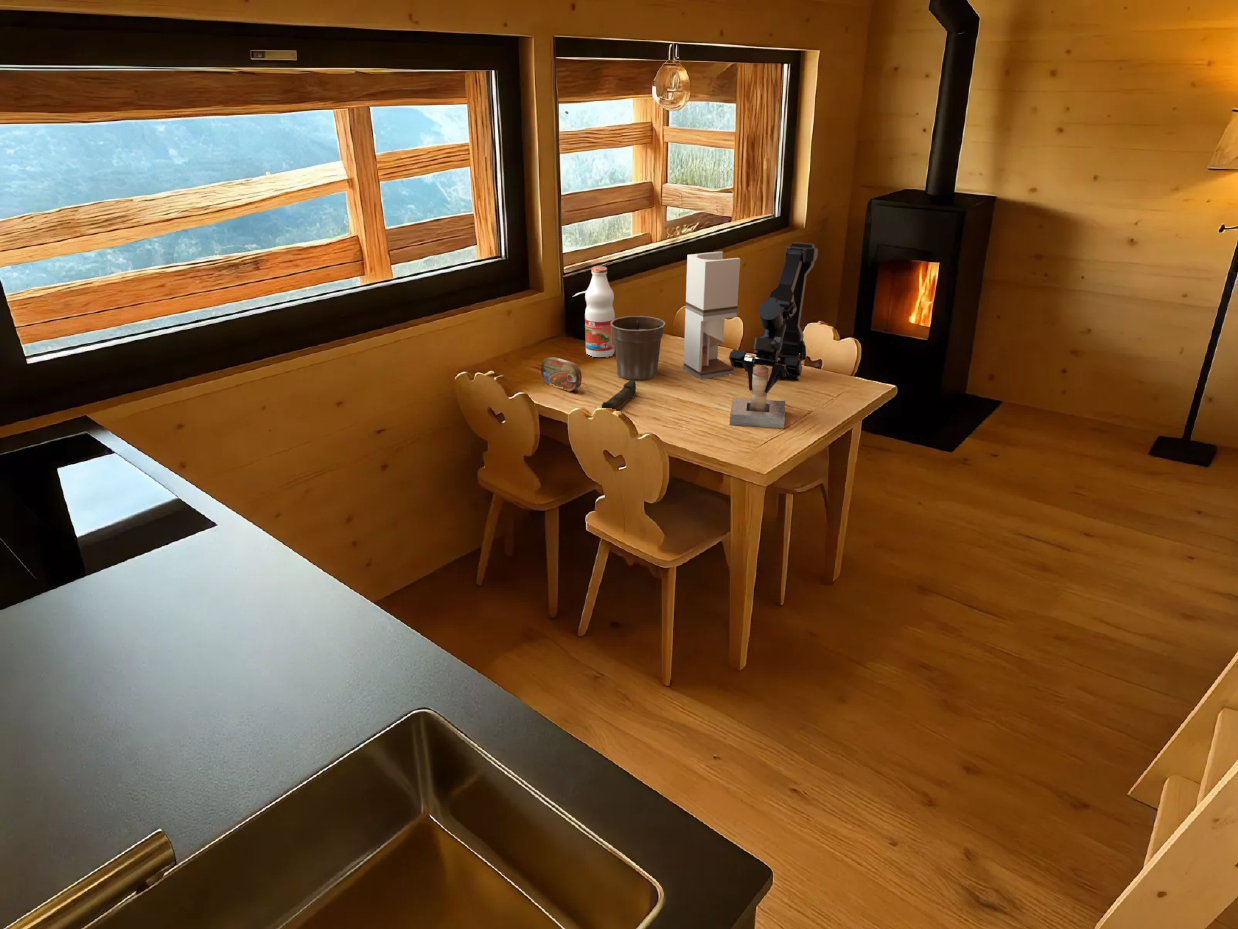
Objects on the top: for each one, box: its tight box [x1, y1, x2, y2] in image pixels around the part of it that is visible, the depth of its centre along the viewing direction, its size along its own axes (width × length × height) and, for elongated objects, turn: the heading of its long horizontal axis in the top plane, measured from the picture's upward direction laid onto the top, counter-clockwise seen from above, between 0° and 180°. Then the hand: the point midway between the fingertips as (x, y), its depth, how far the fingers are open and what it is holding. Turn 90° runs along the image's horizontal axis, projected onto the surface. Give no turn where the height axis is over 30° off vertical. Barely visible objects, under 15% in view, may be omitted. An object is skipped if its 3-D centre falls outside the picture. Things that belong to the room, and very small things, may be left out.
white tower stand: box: [683, 251, 741, 380], centre depth 251 cm, size 11×11×35 cm
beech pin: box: [750, 365, 770, 412], centre depth 222 cm, size 4×4×12 cm
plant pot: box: [611, 315, 666, 381], centre depth 253 cm, size 16×16×16 cm
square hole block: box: [729, 397, 786, 429], centre depth 225 cm, size 12×14×3 cm
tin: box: [540, 356, 583, 392], centre depth 245 cm, size 15×3×8 cm, turn 47°
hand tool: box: [601, 380, 637, 411], centre depth 234 cm, size 19×4×5 cm, turn 154°
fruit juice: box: [584, 265, 616, 358], centre depth 268 cm, size 9×9×28 cm
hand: (758, 391), depth 221 cm, fingers closed on beech pin, 4 cm apart
